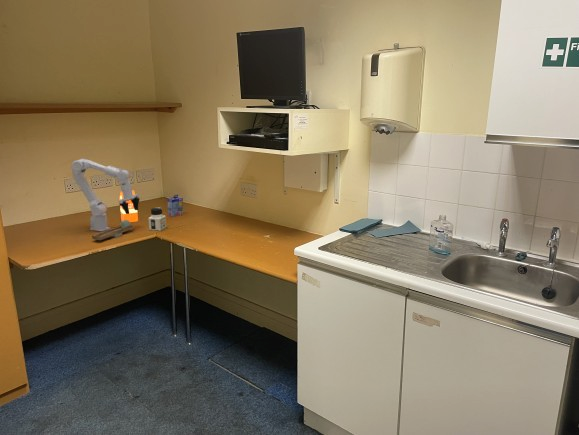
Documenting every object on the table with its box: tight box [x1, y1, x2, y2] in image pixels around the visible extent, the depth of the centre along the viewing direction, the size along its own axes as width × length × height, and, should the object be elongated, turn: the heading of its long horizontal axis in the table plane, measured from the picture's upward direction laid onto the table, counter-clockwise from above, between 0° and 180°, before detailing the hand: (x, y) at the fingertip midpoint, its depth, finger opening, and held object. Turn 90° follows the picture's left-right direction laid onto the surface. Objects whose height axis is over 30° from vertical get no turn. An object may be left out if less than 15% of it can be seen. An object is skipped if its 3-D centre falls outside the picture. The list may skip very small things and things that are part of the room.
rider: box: [120, 220, 131, 228], centre depth 269 cm, size 3×4×4 cm
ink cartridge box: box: [166, 194, 184, 218], centre depth 307 cm, size 10×6×14 cm, turn 145°
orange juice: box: [119, 189, 139, 223], centre depth 292 cm, size 8×9×20 cm
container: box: [148, 207, 167, 231], centre depth 275 cm, size 8×8×13 cm
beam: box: [91, 224, 135, 241], centre depth 261 cm, size 8×26×4 cm, turn 156°
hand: (132, 211), depth 272 cm, fingers open, 7 cm apart
